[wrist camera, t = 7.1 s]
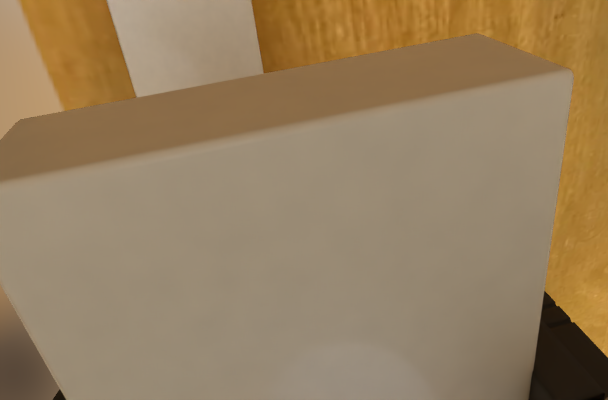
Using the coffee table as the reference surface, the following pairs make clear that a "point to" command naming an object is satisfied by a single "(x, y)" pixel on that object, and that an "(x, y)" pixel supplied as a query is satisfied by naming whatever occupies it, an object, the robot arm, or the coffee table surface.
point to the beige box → (186, 42)
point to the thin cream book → (294, 230)
